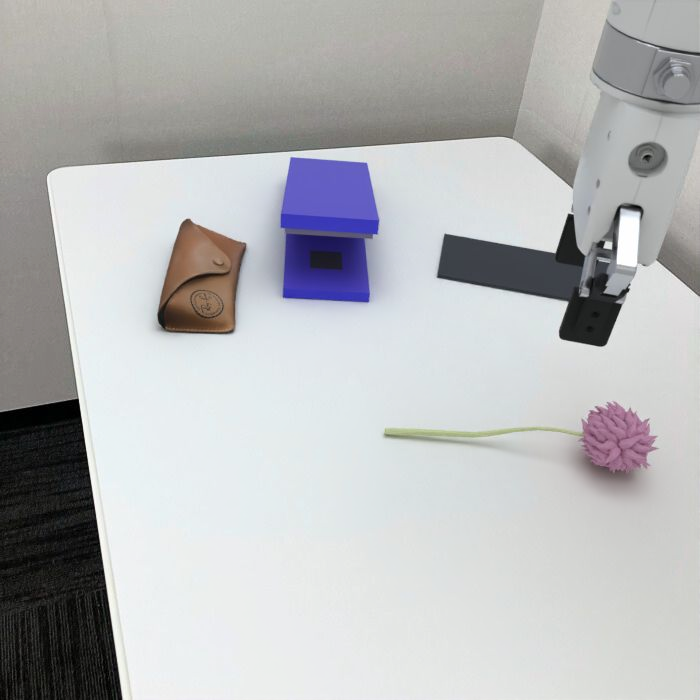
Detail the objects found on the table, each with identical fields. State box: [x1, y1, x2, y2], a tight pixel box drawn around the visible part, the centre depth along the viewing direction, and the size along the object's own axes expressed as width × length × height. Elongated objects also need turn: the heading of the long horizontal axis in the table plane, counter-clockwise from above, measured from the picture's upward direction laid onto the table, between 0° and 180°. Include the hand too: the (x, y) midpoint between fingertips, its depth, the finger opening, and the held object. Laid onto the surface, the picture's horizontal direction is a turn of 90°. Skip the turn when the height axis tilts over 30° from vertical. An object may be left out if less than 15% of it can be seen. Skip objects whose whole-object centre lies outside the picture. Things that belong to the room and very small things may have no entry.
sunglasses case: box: [156, 218, 247, 334], centre depth 88 cm, size 18×7×7 cm
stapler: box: [279, 156, 380, 303], centre depth 97 cm, size 12×28×10 cm, turn 2°
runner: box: [436, 233, 610, 302], centre depth 97 cm, size 22×10×1 cm, turn 80°
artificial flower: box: [384, 400, 660, 476], centre depth 72 cm, size 7×7×25 cm
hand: (577, 299), depth 56 cm, fingers open, 9 cm apart
